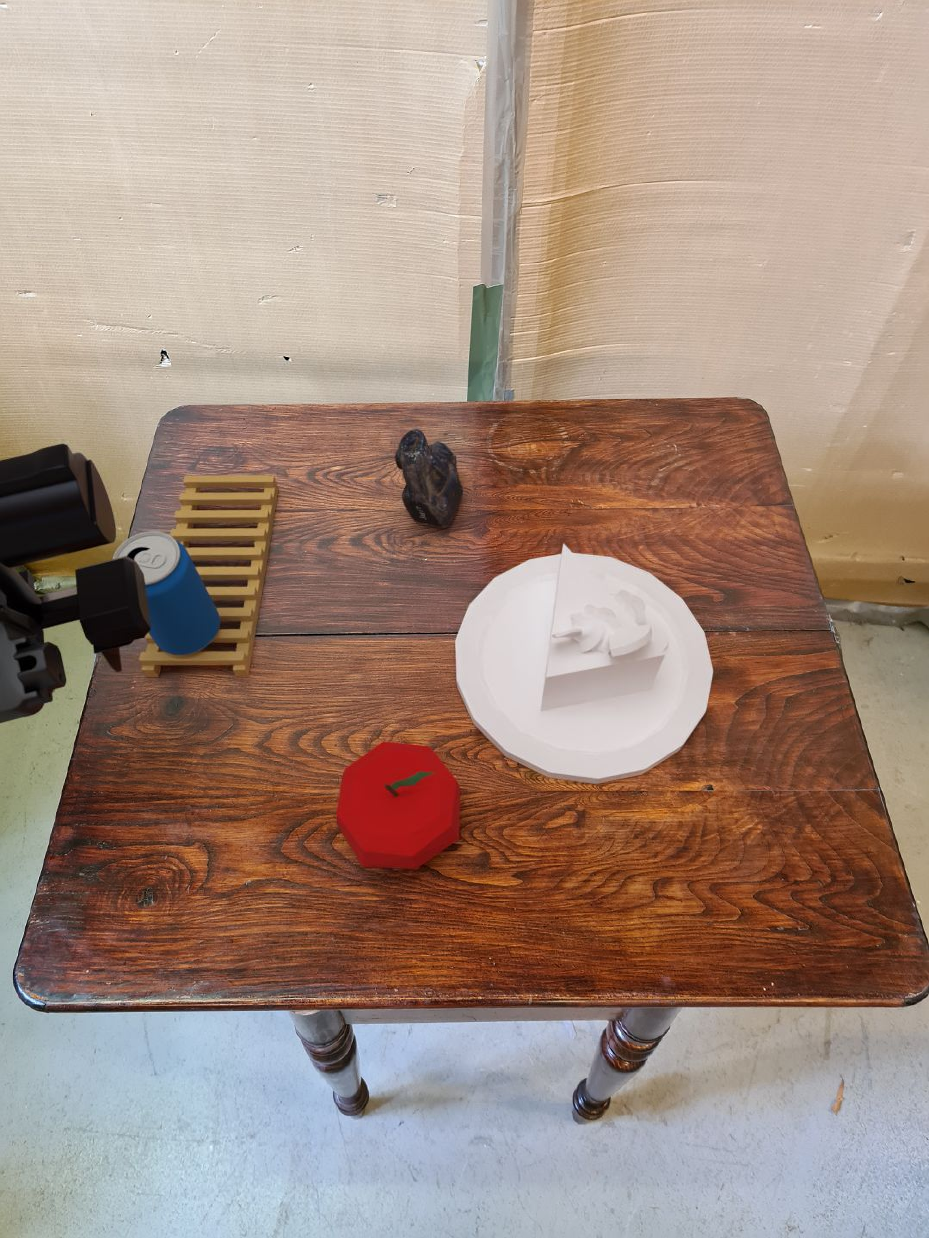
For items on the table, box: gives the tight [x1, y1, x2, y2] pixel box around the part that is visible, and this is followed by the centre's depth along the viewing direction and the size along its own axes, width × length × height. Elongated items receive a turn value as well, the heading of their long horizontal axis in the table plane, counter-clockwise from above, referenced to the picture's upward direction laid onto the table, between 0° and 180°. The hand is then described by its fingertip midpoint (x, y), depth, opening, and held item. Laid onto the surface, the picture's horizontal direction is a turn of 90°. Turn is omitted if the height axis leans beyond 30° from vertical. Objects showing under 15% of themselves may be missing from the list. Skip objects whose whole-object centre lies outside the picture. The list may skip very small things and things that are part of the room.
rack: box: [138, 474, 280, 678], centre depth 83 cm, size 24×10×2 cm, turn 0°
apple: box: [335, 741, 462, 871], centre depth 66 cm, size 11×11×10 cm
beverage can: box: [112, 530, 221, 655], centre depth 72 cm, size 6×6×12 cm
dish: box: [454, 542, 714, 785], centre depth 73 cm, size 25×25×11 cm
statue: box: [394, 428, 464, 529], centre depth 82 cm, size 6×12×15 cm, turn 161°
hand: (59, 682), depth 63 cm, fingers open, 9 cm apart
